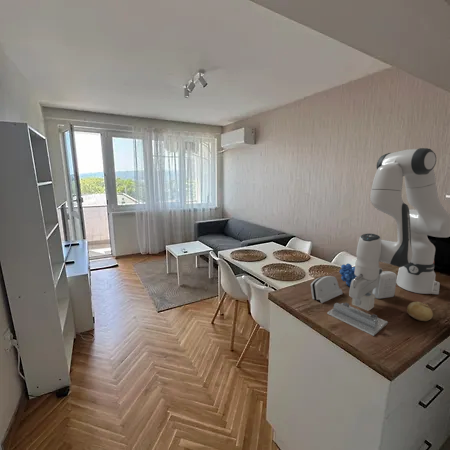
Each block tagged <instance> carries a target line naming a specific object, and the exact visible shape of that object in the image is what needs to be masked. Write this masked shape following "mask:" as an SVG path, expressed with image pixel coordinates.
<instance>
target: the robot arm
mask: <svg viewBox="0 0 450 450" xmlns="http://www.w3.org/2000/svg"><path fill="white" fill-rule="evenodd" d="M436 154H437V153H435V151H434V150H433V149H431V148H426V147H419V148H409V149H403V150H400V151H395V152H388V153H386V154H383V155H381V156H380V157H379V158H378V160H377V162H376V171H375V174H374V176H373V181H372V185H371V190H370V194H369V195H370V197H369V201H370V203H371V205H372V206H373V207H374V209H376V210H378V211H380V212H382V213H384V214H387V215H389V216H391V218H393V219H394V220H395V222H396V230H397V231H396V235H397V241H391V240H386V239H382V238H381V236H380V235H378V234H375V233H363V234H361V235H360V236H359V238H358V242H357V246H356V253H355V254H356V261H355V264H354V267H355V272H354V274H355V275H356V276H357V277H355V279H353V280H352V282H351V285H350V286H349V291H348V295H349V297H350V298H354V299H355V304H356V305H358V306H359V305H361V301H360V299H361V297H362V296H364V295H365V294H367V293H368V292H369V293H372V291H373V289H374V288H376V287H377V286H378V285H379V281H380V276H381V273H382V272H383V268H381V267H380V264H379V263H381V262H382V263H385V264H389V265H392V266H395V267H398V272H397V280H396V285H397V286H398V287H400V288H402V289H404V290H406V291H408V292H412V293H415V294H426V295H429V294H430V295H431V294H432V295H440V286H441V285H440V284H441V283H440V282H439V281H436V272H435V270H434V269H435V255H436V246H435V245H434V243H432V242H431V240H430V239H429V238H428V236H430V237H435V238H449V237H450V213H449V212H448V211H447V210H446V209H445V207H444V205H443V204H442V203H441V201H440V199H439V194H438V187H437V186H438V185H437V180H436V179H437V178H436V173H435V170H434V168H435V166H436V164H437V155H436ZM403 179H404V181H403ZM403 182H404V187H405V193H406V194H405V195H406V200H407V203H408V204H409V205H410V206H412V207H413V208H414V209H413V208H411V209H410V208H409V206H408V204H407V203H404V201H403V198H402V191H403Z"/></svg>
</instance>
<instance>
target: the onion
mask: <svg viewBox="0 0 450 450" xmlns="http://www.w3.org/2000/svg"><path fill="white" fill-rule="evenodd" d="M428 304H429V303H428V302H427V303H423V302H421V301H413V302H410V303H409V304H408V305H407V306H406V311H407V314H408V315H409V316H410V317H411V318H413V319H415V320H417V321H420V322H428V321H430V320H431V319H432V318H433V316H434V313H433V310H432V309H431V307H430V306H429V305H428Z"/></svg>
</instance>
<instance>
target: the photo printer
mask: <svg viewBox="0 0 450 450" xmlns="http://www.w3.org/2000/svg"><path fill="white" fill-rule="evenodd" d="M397 276H398V274H397V273H395V272H393V271H388V270H385V271H382V273H381V276H380V281H379V285H378V286H377V287H376V288H374V289H373V291H372V294H375V299H387V298H394V297H395V292H396V287H397V283H396V280H397Z"/></svg>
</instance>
